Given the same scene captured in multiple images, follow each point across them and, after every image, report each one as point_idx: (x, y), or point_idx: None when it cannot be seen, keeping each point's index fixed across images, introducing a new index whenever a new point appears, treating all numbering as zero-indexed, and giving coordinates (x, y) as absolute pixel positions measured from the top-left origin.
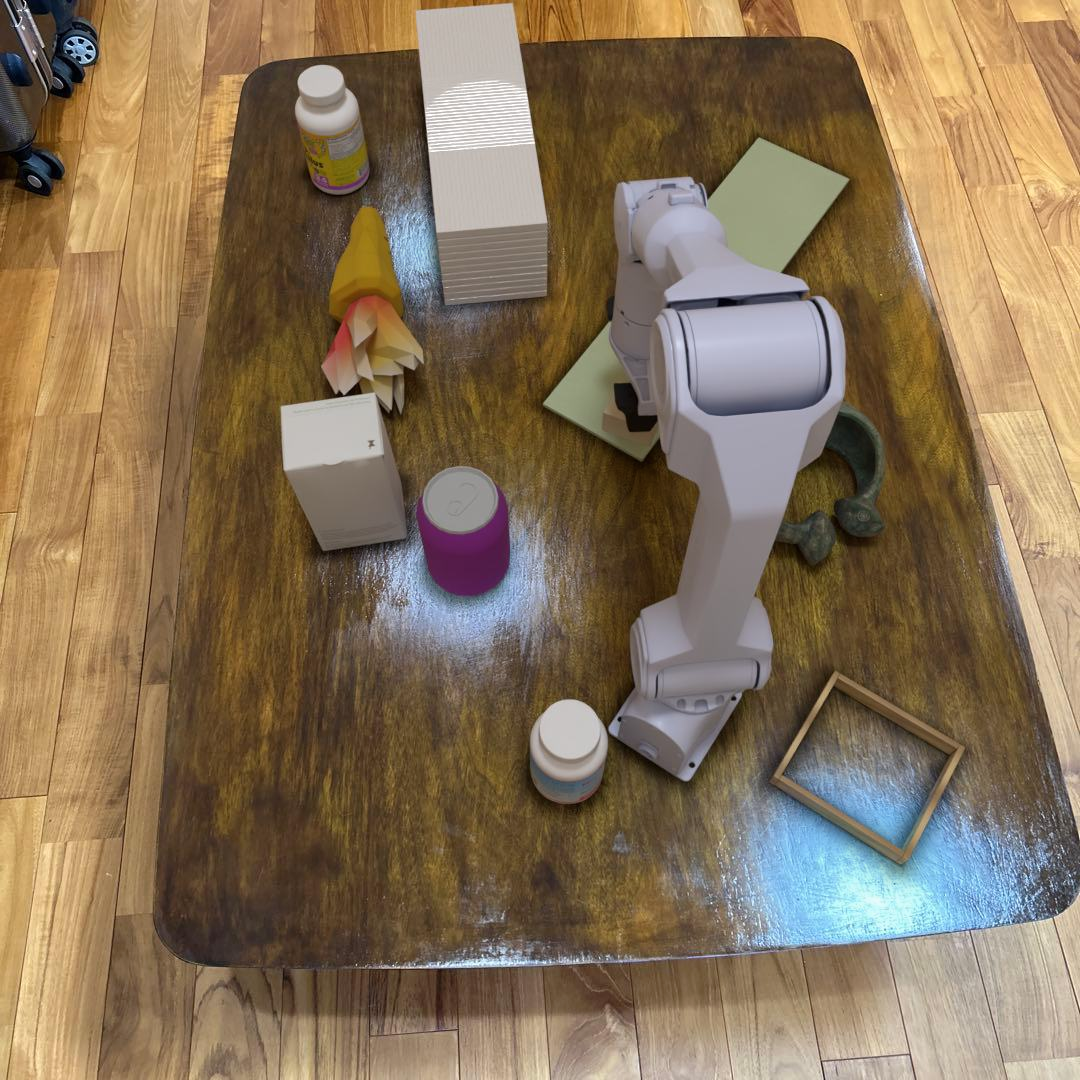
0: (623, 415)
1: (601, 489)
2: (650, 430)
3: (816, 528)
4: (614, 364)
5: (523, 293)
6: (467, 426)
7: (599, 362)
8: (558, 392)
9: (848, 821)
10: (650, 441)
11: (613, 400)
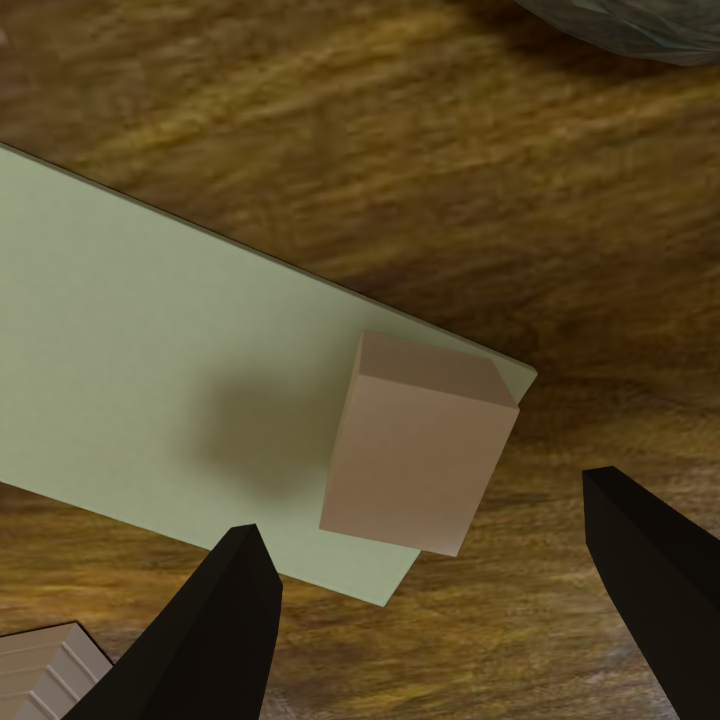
0: (462, 504)
1: (628, 455)
2: (622, 472)
3: None
4: (216, 481)
5: (95, 673)
6: (459, 698)
7: (223, 515)
8: (344, 584)
9: None
10: (497, 372)
11: (403, 536)
